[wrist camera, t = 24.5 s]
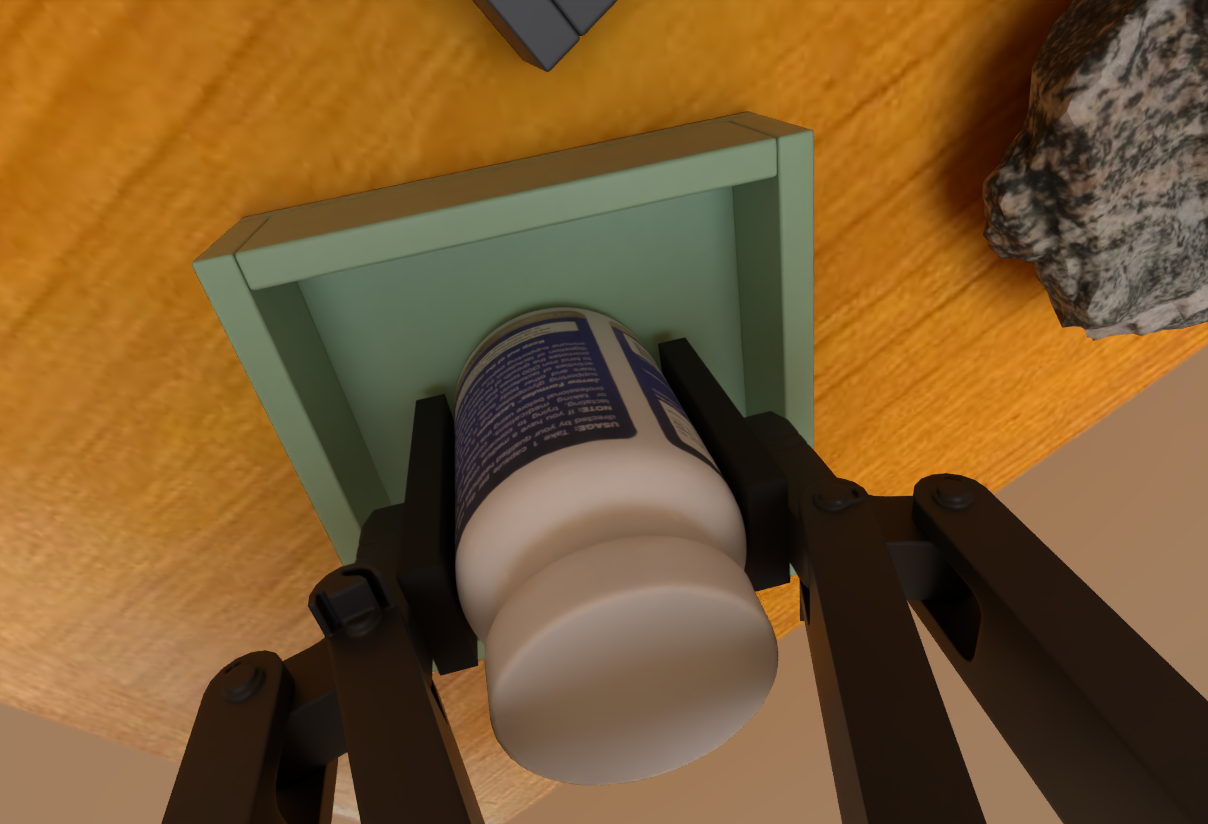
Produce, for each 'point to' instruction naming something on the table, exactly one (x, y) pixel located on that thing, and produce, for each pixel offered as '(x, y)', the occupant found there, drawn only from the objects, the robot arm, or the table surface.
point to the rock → (1113, 168)
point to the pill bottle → (599, 557)
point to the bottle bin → (518, 288)
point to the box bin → (543, 25)
